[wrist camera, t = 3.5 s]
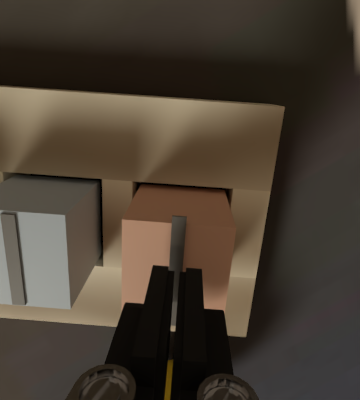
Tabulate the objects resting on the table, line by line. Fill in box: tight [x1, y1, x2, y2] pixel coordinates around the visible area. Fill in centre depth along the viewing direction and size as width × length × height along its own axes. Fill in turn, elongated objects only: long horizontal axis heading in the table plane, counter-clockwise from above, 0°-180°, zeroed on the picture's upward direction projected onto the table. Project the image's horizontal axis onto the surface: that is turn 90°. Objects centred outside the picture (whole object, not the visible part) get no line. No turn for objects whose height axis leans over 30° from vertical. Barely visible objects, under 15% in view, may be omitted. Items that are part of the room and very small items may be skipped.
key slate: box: [0, 175, 101, 309], centre depth 14 cm, size 4×4×4 cm
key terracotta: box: [121, 184, 236, 326], centre depth 14 cm, size 5×4×4 cm
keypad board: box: [0, 85, 285, 337], centre depth 16 cm, size 12×20×2 cm, turn 86°
